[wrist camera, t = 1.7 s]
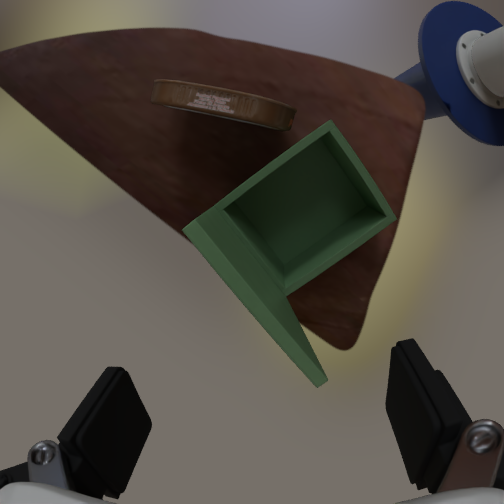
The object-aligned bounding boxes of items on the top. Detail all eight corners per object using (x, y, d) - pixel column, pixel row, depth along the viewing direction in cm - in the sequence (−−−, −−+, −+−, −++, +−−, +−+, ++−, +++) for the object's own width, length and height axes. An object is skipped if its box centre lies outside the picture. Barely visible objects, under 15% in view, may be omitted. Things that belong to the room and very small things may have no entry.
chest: (319, 127, 33) (330, 119, 25) (373, 206, 35) (397, 219, 27) (224, 197, 36) (211, 207, 28) (282, 271, 38) (283, 298, 31)
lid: (195, 219, 14) (181, 229, 14) (328, 380, 16) (317, 388, 16) (213, 206, 28) (206, 211, 28) (286, 298, 30) (280, 303, 30)
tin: (295, 113, 32) (301, 99, 24) (288, 139, 33) (291, 132, 25) (170, 87, 32) (143, 70, 24) (164, 111, 33) (134, 100, 25)
